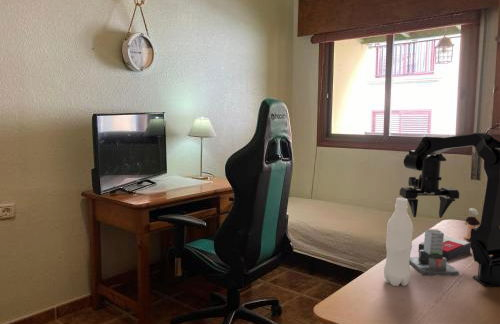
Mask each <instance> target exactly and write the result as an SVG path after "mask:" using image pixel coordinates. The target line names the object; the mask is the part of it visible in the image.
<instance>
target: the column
mask: <svg viewBox="0 0 500 324" xmlns="http://www.w3.org/2000/svg"><path fill="white" fill-rule="evenodd" d="M444 236H445V233H444V232H443V231H441V230H439V229H424V239H423V240H424V241H423V242H424V251H425V252H426V253H428V254H429V255H442V250H443V237H444Z"/></svg>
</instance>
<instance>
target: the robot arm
mask: <svg viewBox="0 0 500 324" xmlns="http://www.w3.org/2000/svg"><path fill="white" fill-rule="evenodd" d="M468 147H475V150H476V152H477V155H478V156H479V157H480V158H481V159H482V160H483V169H484V172H485V174H486V176H487V181H486V188H485V193H484V201H483V205H482V212H481V218H480V222H479V223H480V226H479V227H476V228H472V229H471V237H470V239H468V242H469V243H470V246H471V247H470V250H471V251H472V256H473V260H474V262H477V264H478V271H477V275H473V276H472V278H473V279H475V280H476V281H477V282H478V283H480V284H482V285H483V286H485V287H500V140H499V139H497V138H495V137H494V136H493V135H492V134H490V133H488V132H484V131H483V132H481V131H480V132H479V131H478V132H474V133H468V134H461V135H455V136H442V135H438V136H437V135H435V136H423V137H422V138H421V140H420V143H419V144H418V146H417V147H416V149H412V150H408V153H407V154H406V156H405V157H404V159H403V165H404V167H405V168H406V169H409V170H410V169H411V170H414V171H420V172H421V174H419V177H418V178H416V176H410V177H408V181H407V182H408V186H409V187H407V186H406V187H404V186H402V187H401V188H400V189H399V196H401V198H405V199H407V203H408V204H409V207H410V210H411V211H410V212H411V214H412V216H413V218H416V217H417V213H418V205H419V204H418V203H419V199H417V198H418V197H419V196H422V197H424V196H426V197H427V196H434V197H435V196H436V197H437V196H438V197H439V198H438V199H439V208H438V209H439V210H438V217H439V218H441V219H442V217H443V216H444V214H445V213H446V211H447V210H448V208H449V207H450V205H452V203H453V202H455V201H456V200H458V199H460V195H461V194H460V191H459V190H458V189H455V188H453V187H441V188H440V181H442V177H441V174H440V173H441V162H447V158H446V157H445V156H444V155H443V154H442V153H445V152H448V151H449V150H451V149H457V148H459V149H460V148H468Z"/></svg>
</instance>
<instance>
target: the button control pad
mask: <svg viewBox="0 0 500 324" xmlns="http://www.w3.org/2000/svg"><path fill="white" fill-rule="evenodd" d="M470 243H471V242H469V241H466V240H463V239H458V238H455V237H451V236H448V235H444V237H443V250H442V256H443V257H445V258H446V259H447V262H449V261H451V260H453V259H456V258H459V257H461V256H463V255H464V256H465V255H467V254H470V253H471V246H470ZM419 250H424V241H422V242H420V243H419V244H418V251H419Z"/></svg>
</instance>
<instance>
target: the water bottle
mask: <svg viewBox="0 0 500 324" xmlns="http://www.w3.org/2000/svg"><path fill="white" fill-rule="evenodd" d="M394 208H395V209H394V212H393V213H392V214H391V217H389V219H388V221H387V224H386V242H385V247H386V257H385V258H386V259H385V263H384V264H385V265H384V268H383V275H384V276H383V277H384V279H385V283H388V284H391V286H393V287H398V286H400V285H401V286H402V287H405V286H407V285H408V283H409V282H410V279H411V264H410V263H409V260H410V257H411V252H412V248H413V232H414V224H413V222H412V220H411V218H410V215H409V213H408V208H409V206H408V200H407V199H405V198H403V197H397V198H396V200H395V205H394Z"/></svg>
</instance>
